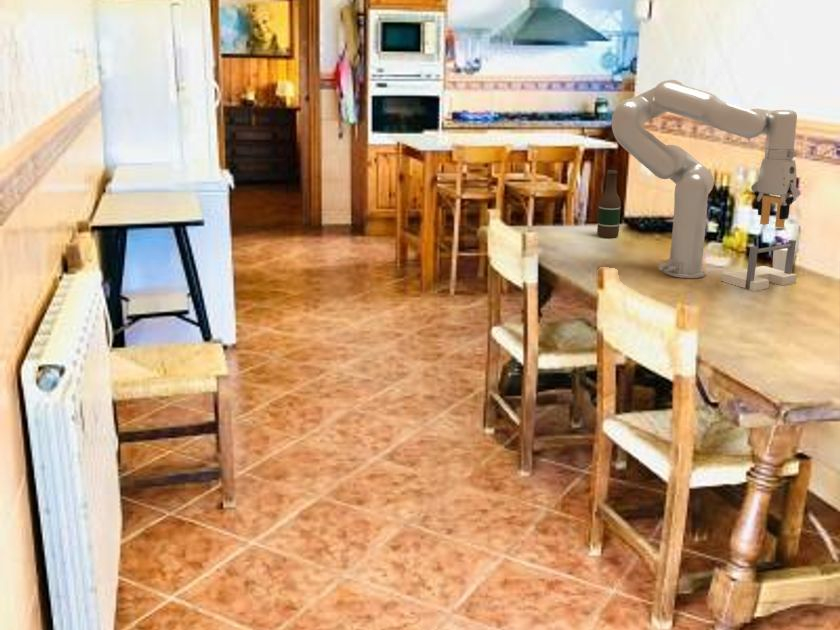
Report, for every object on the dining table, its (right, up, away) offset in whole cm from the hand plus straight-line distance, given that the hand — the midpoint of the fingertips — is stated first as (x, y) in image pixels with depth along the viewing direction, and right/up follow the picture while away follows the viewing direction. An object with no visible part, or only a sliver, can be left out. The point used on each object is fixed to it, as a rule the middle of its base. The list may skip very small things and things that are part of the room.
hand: (772, 216), depth 258 cm
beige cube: (+11, -15, +20) cm, 27 cm away
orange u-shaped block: (0, -3, +1) cm, 3 cm away
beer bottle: (-34, 0, +65) cm, 73 cm away
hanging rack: (-2, -19, +7) cm, 20 cm away
